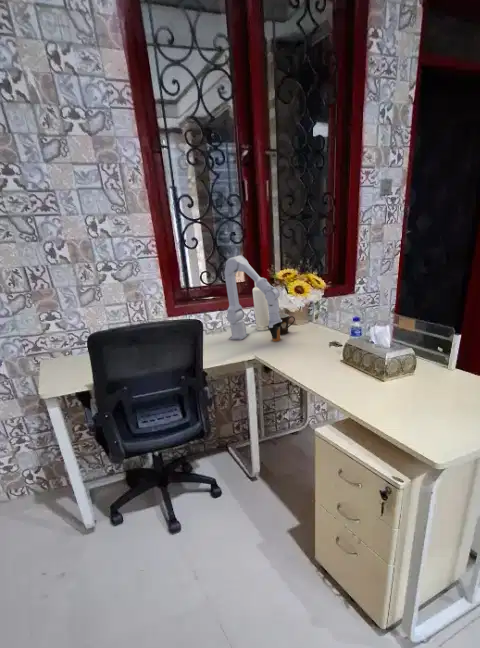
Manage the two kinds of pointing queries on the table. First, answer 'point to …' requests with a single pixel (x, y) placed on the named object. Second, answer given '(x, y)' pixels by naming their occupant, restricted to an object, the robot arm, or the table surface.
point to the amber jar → (277, 335)
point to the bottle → (260, 309)
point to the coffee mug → (285, 323)
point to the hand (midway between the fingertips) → (276, 336)
